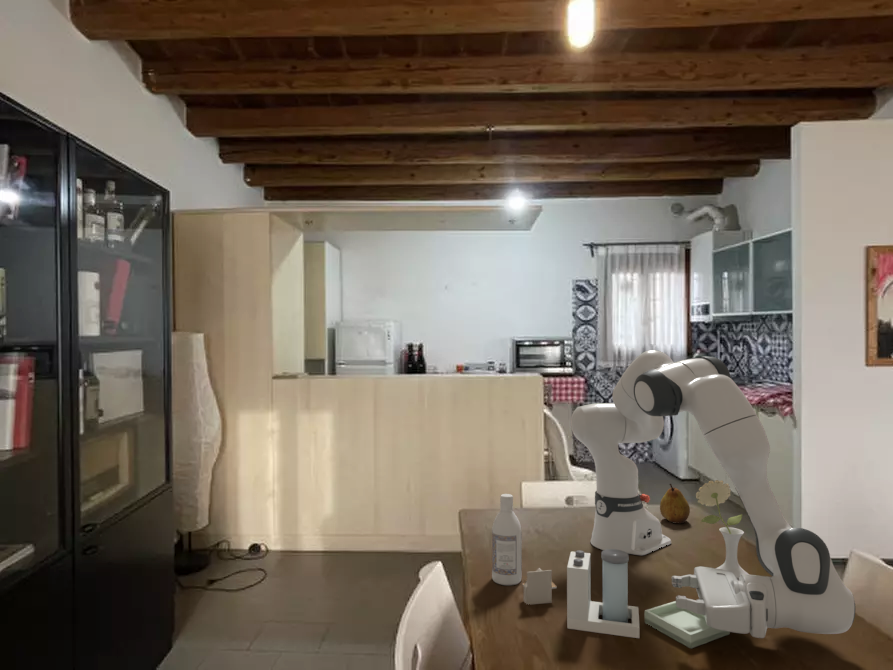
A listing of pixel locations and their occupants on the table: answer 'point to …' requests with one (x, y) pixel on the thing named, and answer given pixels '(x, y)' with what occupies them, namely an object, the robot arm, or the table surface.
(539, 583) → the architectural model
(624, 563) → the cylinder
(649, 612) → the tray
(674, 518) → the fruit
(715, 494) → the flower in vase
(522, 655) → the table surface
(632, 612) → the base
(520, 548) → the bath foam
